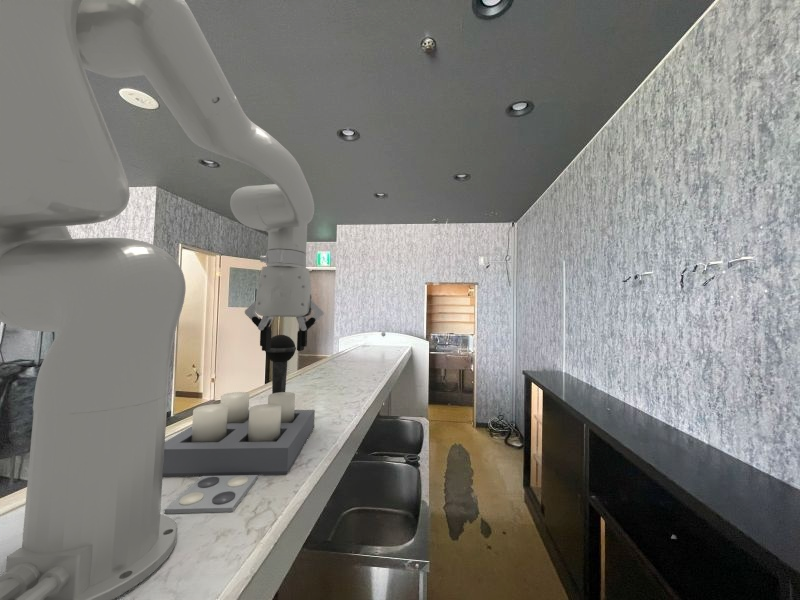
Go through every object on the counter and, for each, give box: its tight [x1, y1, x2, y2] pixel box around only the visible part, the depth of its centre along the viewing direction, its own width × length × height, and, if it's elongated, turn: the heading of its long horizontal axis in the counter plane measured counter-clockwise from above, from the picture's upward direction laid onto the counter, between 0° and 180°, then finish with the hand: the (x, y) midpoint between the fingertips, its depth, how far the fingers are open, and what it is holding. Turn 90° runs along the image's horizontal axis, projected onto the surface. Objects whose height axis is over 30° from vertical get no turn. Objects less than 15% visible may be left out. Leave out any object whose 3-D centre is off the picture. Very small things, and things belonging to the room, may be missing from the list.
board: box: [163, 409, 315, 478], centre depth 57 cm, size 20×20×4 cm
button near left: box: [191, 403, 228, 443], centre depth 52 cm, size 5×5×5 cm
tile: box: [163, 475, 259, 515], centre depth 42 cm, size 8×8×1 cm
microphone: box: [264, 334, 297, 394], centre depth 71 cm, size 7×7×20 cm
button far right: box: [267, 391, 296, 423], centre depth 62 cm, size 5×5×5 cm
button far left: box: [220, 391, 250, 423], centre depth 61 cm, size 5×5×5 cm
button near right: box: [248, 403, 281, 442], centre depth 53 cm, size 5×5×5 cm
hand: (283, 349), depth 63 cm, fingers open, 6 cm apart
